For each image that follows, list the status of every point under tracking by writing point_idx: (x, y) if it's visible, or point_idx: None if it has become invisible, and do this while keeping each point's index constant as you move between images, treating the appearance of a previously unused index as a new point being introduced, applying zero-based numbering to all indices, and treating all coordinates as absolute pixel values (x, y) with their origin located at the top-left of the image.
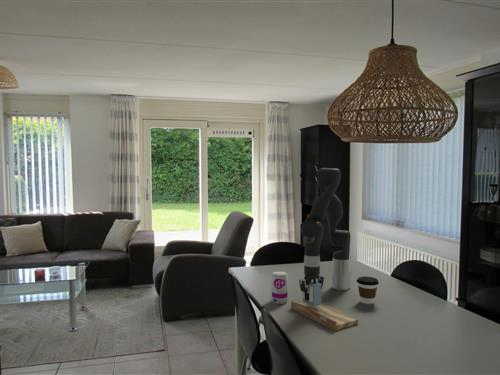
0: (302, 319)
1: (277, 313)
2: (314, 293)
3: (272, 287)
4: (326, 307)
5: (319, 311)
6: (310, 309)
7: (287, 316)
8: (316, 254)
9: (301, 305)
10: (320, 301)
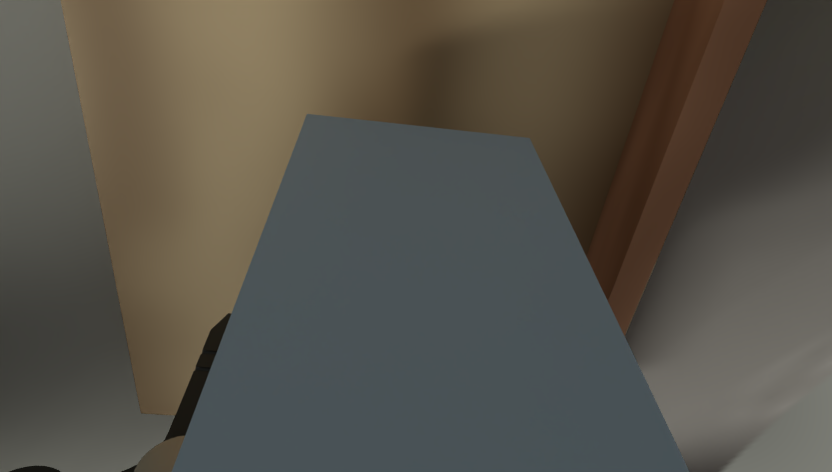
0: (782, 67)
1: (773, 386)
2: (593, 340)
3: None
4: (155, 75)
5: (442, 11)
6: (716, 70)
7: (796, 269)
8: None
9: (629, 309)
10: (318, 148)
